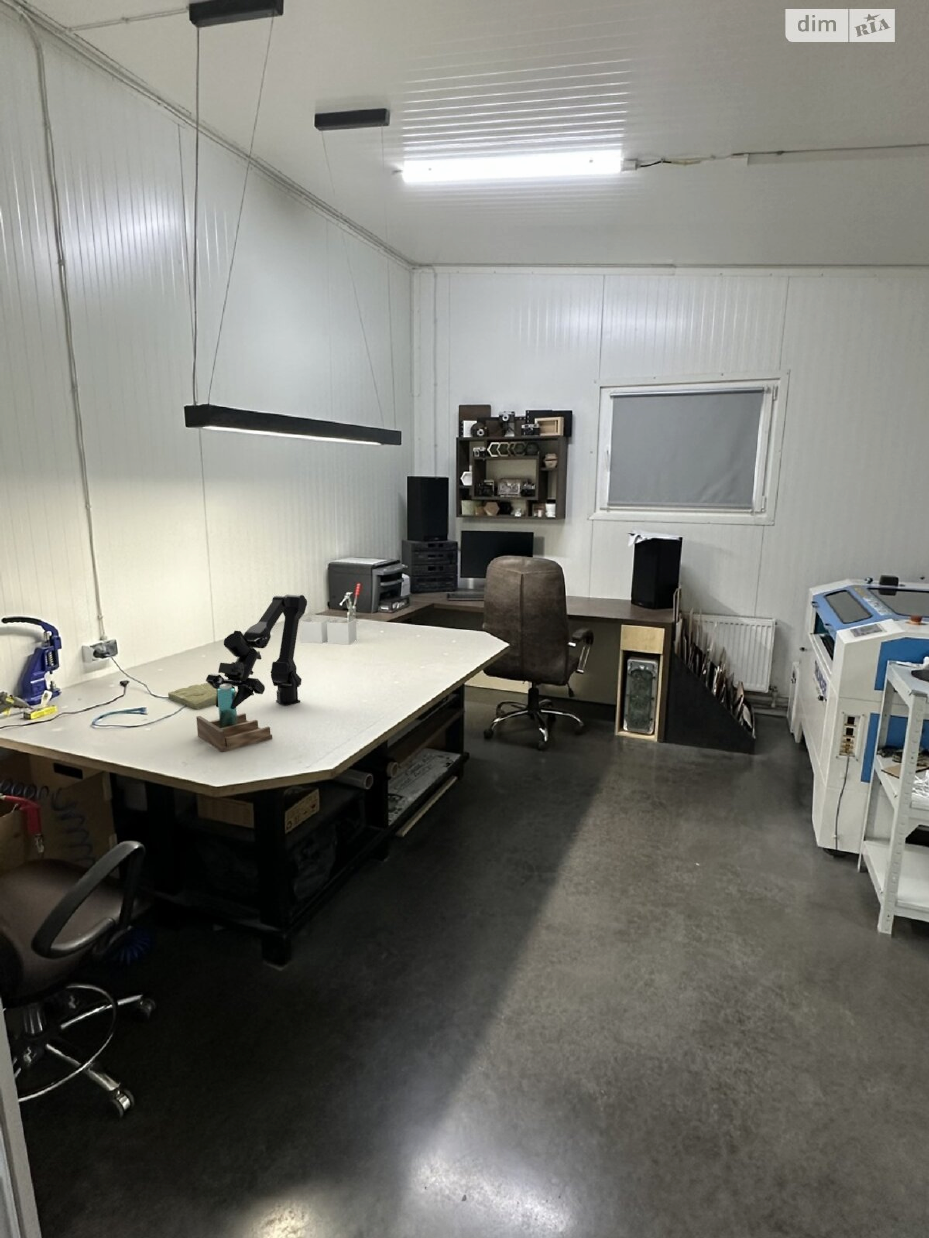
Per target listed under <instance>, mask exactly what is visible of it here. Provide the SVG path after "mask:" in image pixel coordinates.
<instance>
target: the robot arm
mask: <svg viewBox="0 0 929 1238" xmlns="http://www.w3.org/2000/svg"><path fill="white" fill-rule="evenodd" d="M271 601H272V602H271V603H270V604H269V605H268V607H267V608H266V610H265V612H264V613H263V615H262V616H261V618H260V619H259V620H258V621H257V623H255V624H253V625H251V626H250V627H249V628H248V629H247V630H246V631H245V632H244V634H243V632H242V631H241V630H236V629H235V630H234V631H233V633H230V634H228V635H227V637H225V638H224V641H223V646H224V647H225V648H226V649H227V650H228V651H229V652H230V654H232V655H233V657H235V658H236V660H235V661H232V662H231V663H230V662H229V663H227V662H219V666H218V673H209V674H207V676H206V679H205V682H206V683H209V684H210V685H211V686H212V687H213V688H215V689H218V688H219V687H220V685H222V684H232V686H234V687H237V690H236V691H237V694H236V696H235V698H234V701H233V703H232V706H231V709H235V708H236V709H237V707H238V706H239V705H241V704H242V703H244V702H245V700H247V699H249V698H250V697H251V696H254V695H255V694H256V695H263V694H264V692H265V690H266V688H265V687H266V686H265V684H264V683H263V682H262V681H261V680H259V679H258V678H256V677H255V678H253V677H250V675H251V676H252V675H254V673H255V672H254V671H253V668H254V666H255V664H256V661H257V660H262V655H261V652H260V650H259V651H258V650H256V649H265V648H266V647H267V646H268V644H269V642H270V640H271V638H272V637H271V631H272V630H273V628H274V626H275V625H276V624H277V622H278V621H279V619H280V617H281V616H282V614H283V617H284V622H283V629H282V635H281V643H280V648H279V649H280V650H279V655H278V658H277V659H276V661H272V663H271V669H270V678H271V681H272V684H273V687H277V690H276V700H275V701H276V703H278V704H281V705H282V706H289V705H292V704H293V705H294V704H296V703H297V704H298V703H300V702H301V700H300V699H299V694H298V691H299V690H298V688H300V686H302V679H303V678H301V677H300V675H299V674H298V672H297V666H296V663H295V661H294V656H295V650H296V649H295V648H296V643H297V636H298V631H299V625H300V624H299V623H300V620H301V619H302V617H303V616H304V614H305V613H306V609H307V605H308V600H307V599H306V596H305V595H303V594H293V593H291V594H290V593H288V594H287V593H286V594H285V595H275V596H273V597H272V600H271ZM220 673H221V674H224V677H225V678H224V677H223V675H221V674H220ZM226 678H227V679H226ZM215 707H216V708H219V707H218V694H217V698H216V705H215Z"/></svg>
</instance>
